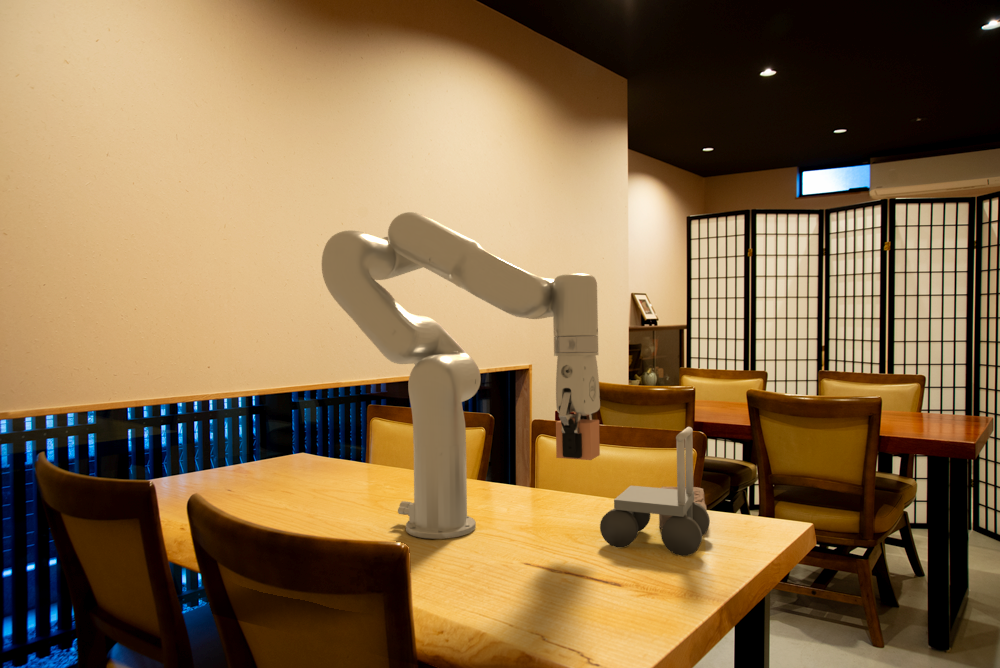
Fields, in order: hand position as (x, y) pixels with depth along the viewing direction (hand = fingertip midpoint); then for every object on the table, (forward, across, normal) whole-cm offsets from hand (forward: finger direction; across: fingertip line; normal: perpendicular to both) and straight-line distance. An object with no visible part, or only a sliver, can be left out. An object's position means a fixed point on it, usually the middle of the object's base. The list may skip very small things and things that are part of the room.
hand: (577, 453), depth 107 cm
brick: (+15, +21, -14) cm, 29 cm away
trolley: (+15, +4, -12) cm, 20 cm away
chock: (+1, 0, 0) cm, 1 cm away
